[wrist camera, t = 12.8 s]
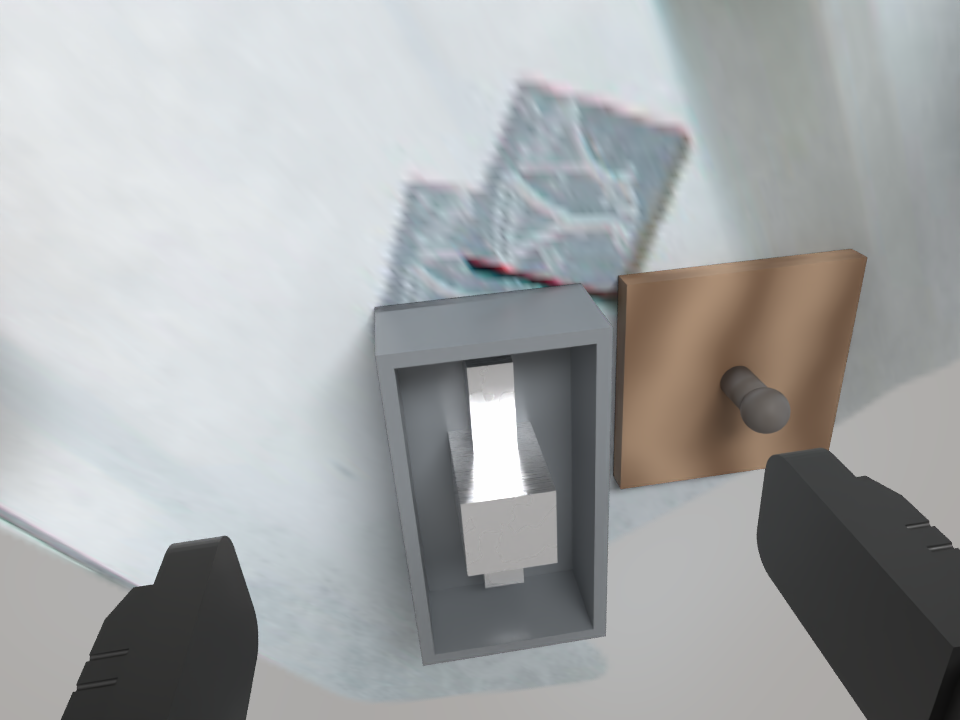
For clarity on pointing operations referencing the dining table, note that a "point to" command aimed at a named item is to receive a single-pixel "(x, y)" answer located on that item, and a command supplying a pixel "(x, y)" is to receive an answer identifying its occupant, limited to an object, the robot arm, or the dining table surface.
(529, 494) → the strut
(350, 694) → the dining table surface
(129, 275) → the dining table surface
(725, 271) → the stud base
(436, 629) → the bin
